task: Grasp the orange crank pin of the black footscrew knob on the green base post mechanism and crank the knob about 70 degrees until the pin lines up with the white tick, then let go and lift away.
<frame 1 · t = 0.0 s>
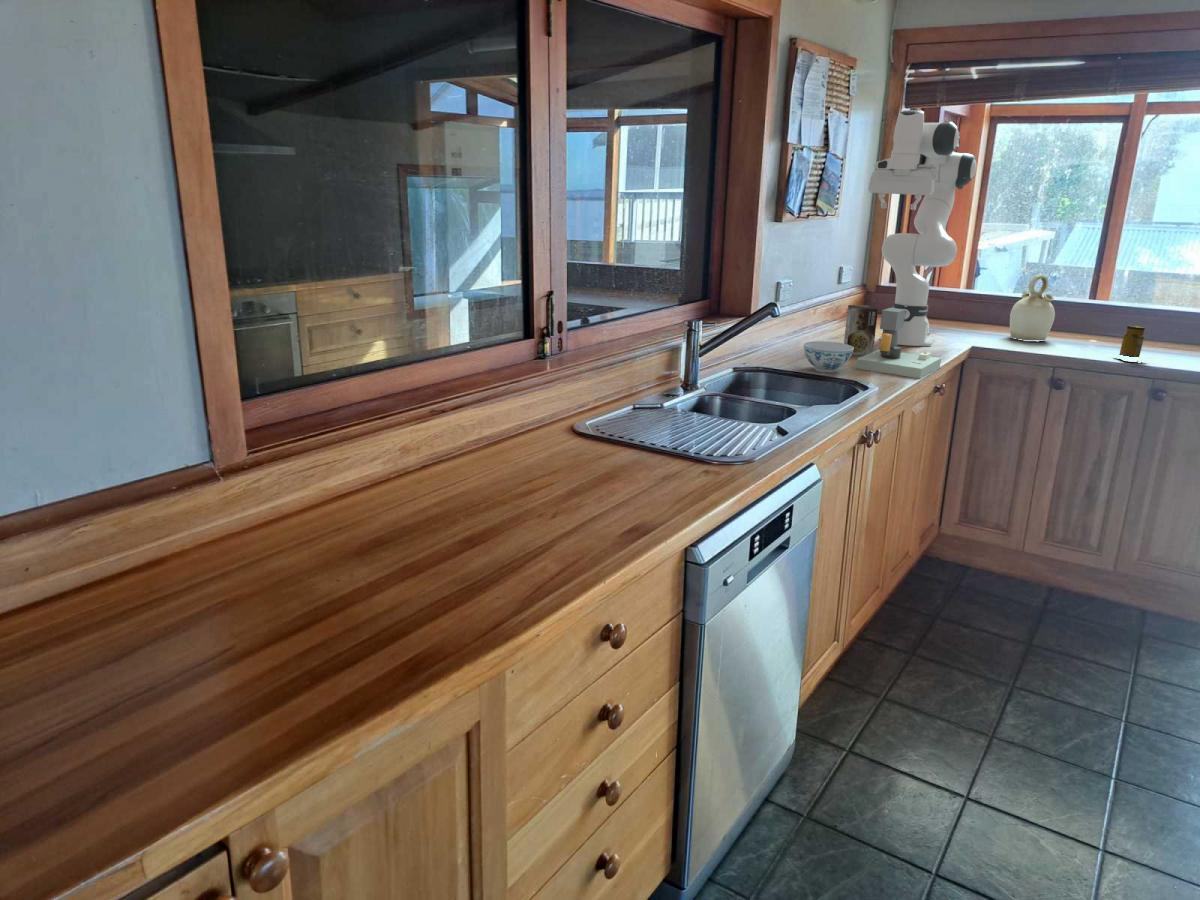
hand: (898, 209, 276), 48 cm above the worktop, fingers open, 8 cm apart
jug: (1027, 340, 332), on the worktop
footscrew knob: (889, 345, 269), point 7 cm above the worktop, hinge at 0.0°
chinaware: (825, 371, 264), on the worktop
green base post mechanism: (898, 367, 272), on the worktop
condiment: (1129, 361, 297), on the worktop
coffee box: (857, 354, 292), on the worktop
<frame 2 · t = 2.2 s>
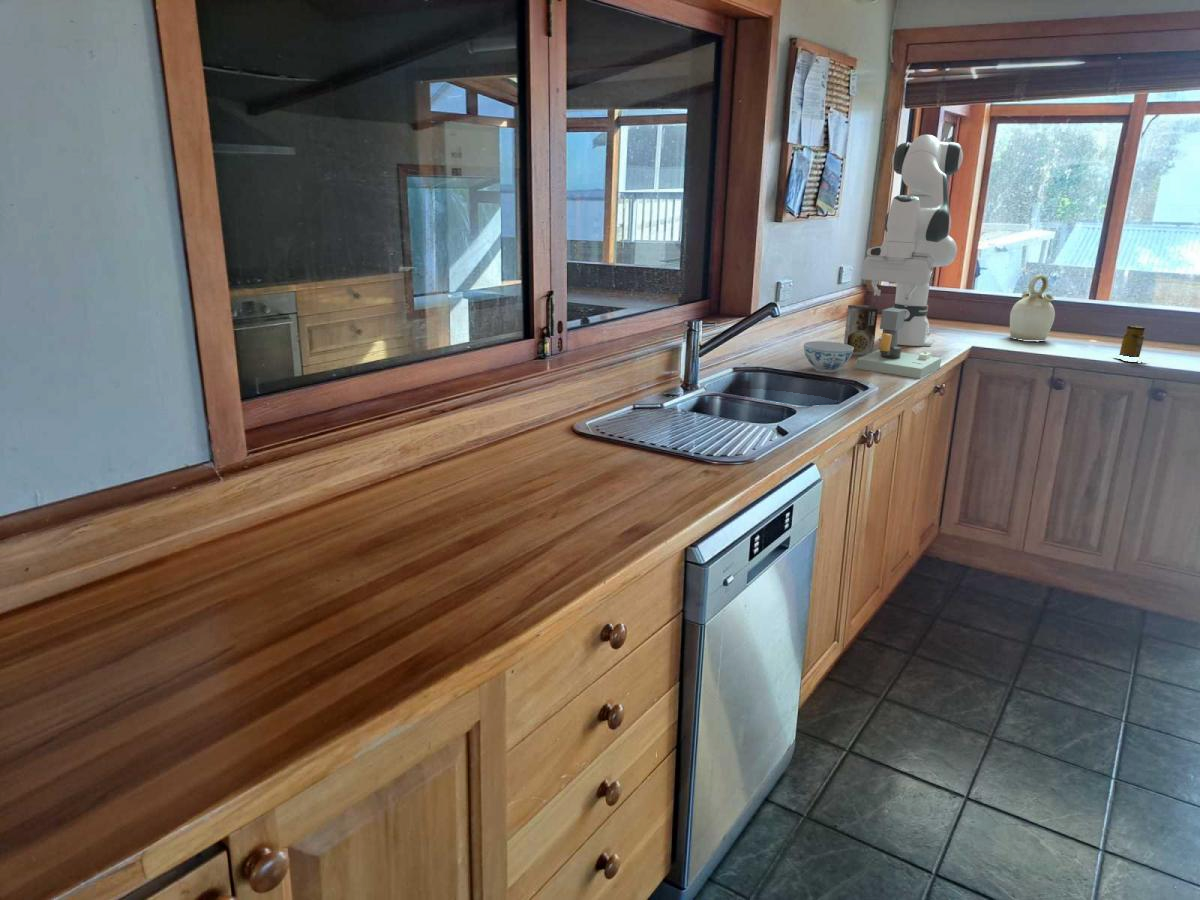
hand: (892, 297, 261), 23 cm above the worktop, fingers open, 8 cm apart
nothing on the worktop moved.
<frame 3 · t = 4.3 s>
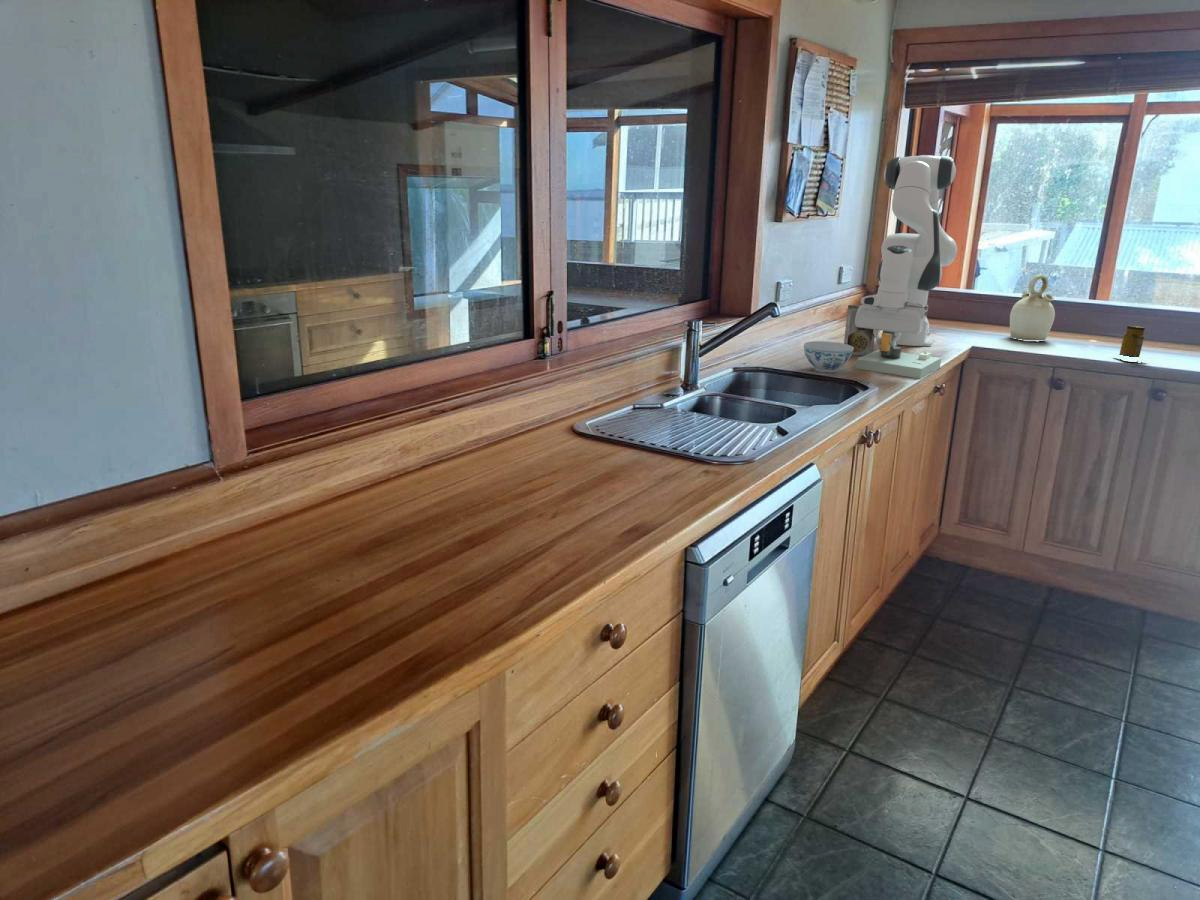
hand: (885, 345, 265), 8 cm above the worktop, fingers closed on footscrew knob, 3 cm apart
footscrew knob: (889, 345, 269), point 7 cm above the worktop, hinge at 0.0°, touching gripper
everything else where it was.
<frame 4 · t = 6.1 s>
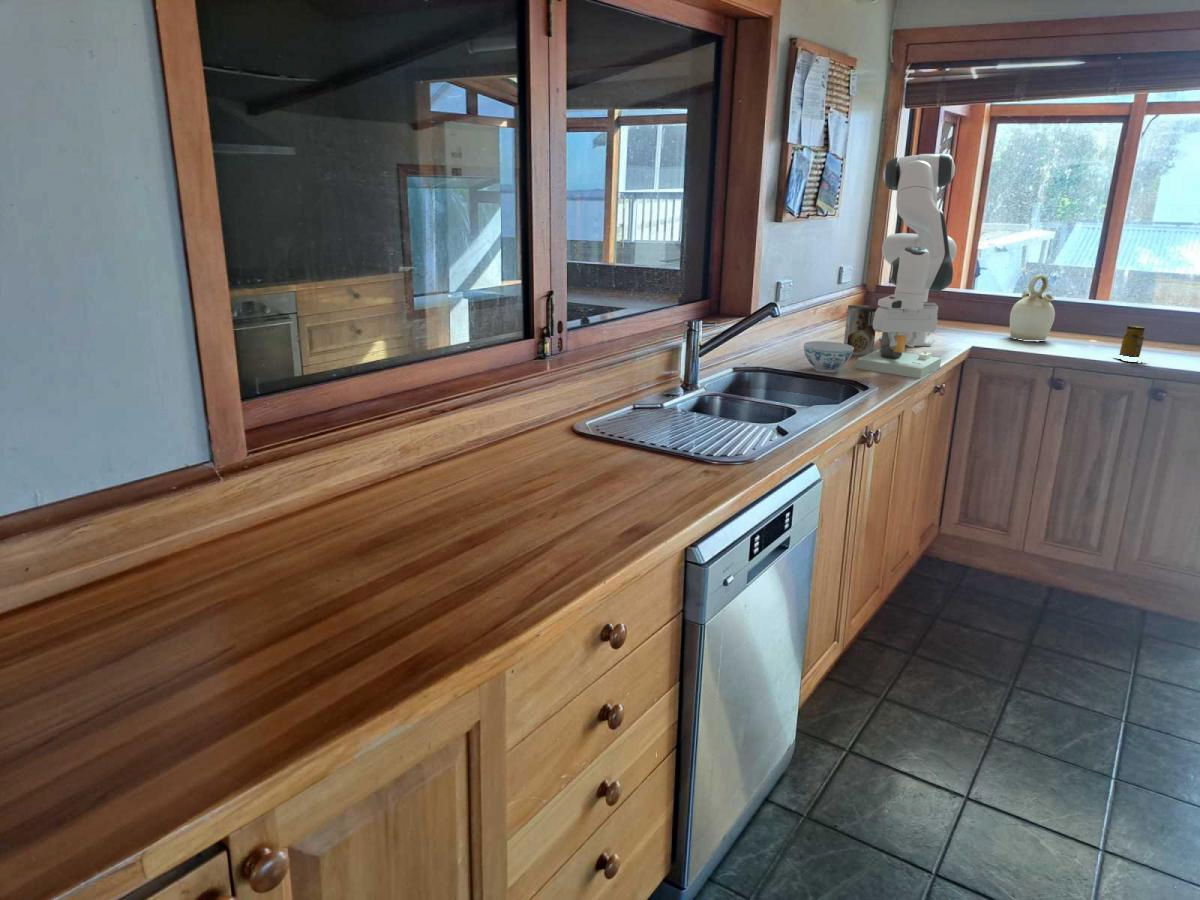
hand: (901, 346, 265), 8 cm above the worktop, fingers open, 5 cm apart
footscrew knob: (894, 345, 268), point 7 cm above the worktop, hinge at 35.3°, touching gripper
everything else where it was.
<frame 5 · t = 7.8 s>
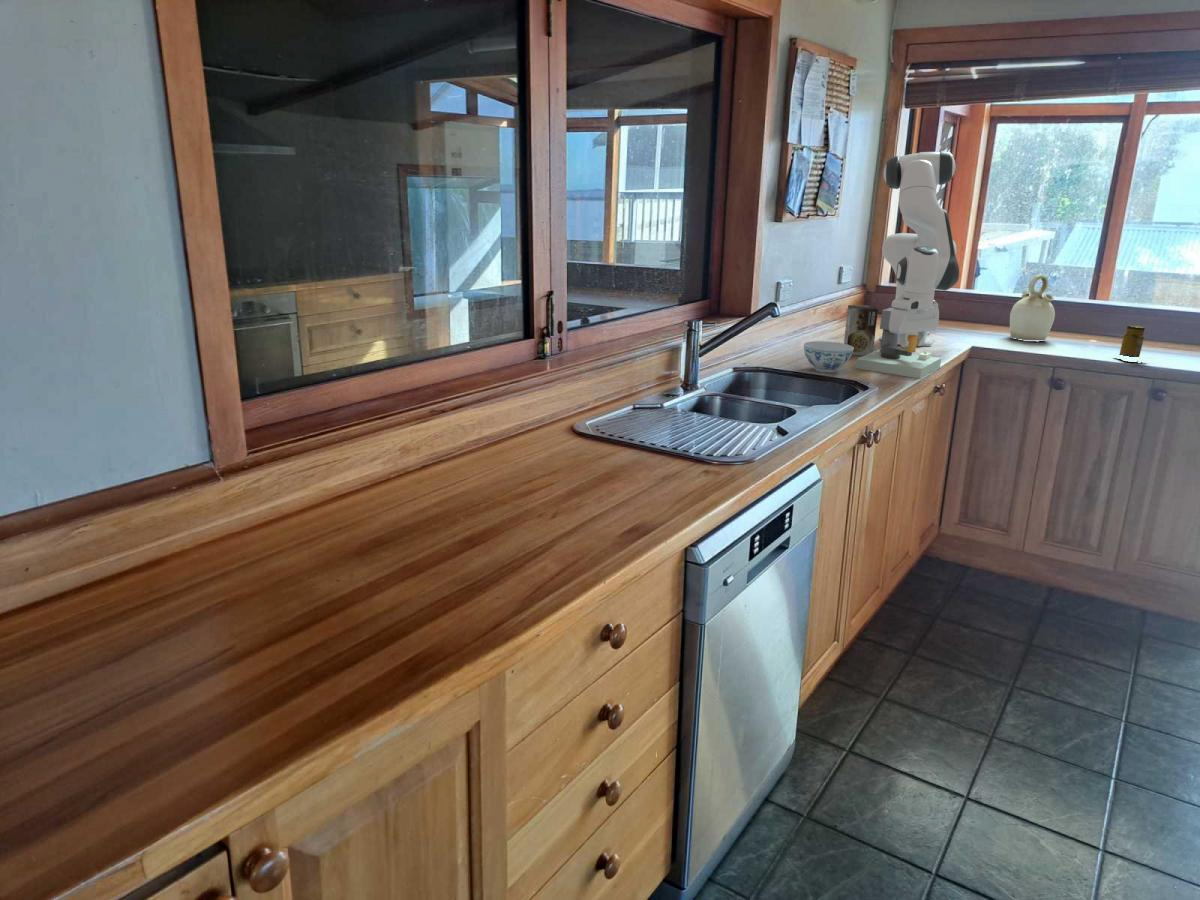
hand: (911, 346, 265), 8 cm above the worktop, fingers open, 5 cm apart
footscrew knob: (899, 345, 269), point 7 cm above the worktop, hinge at 69.6°
everything else where it was.
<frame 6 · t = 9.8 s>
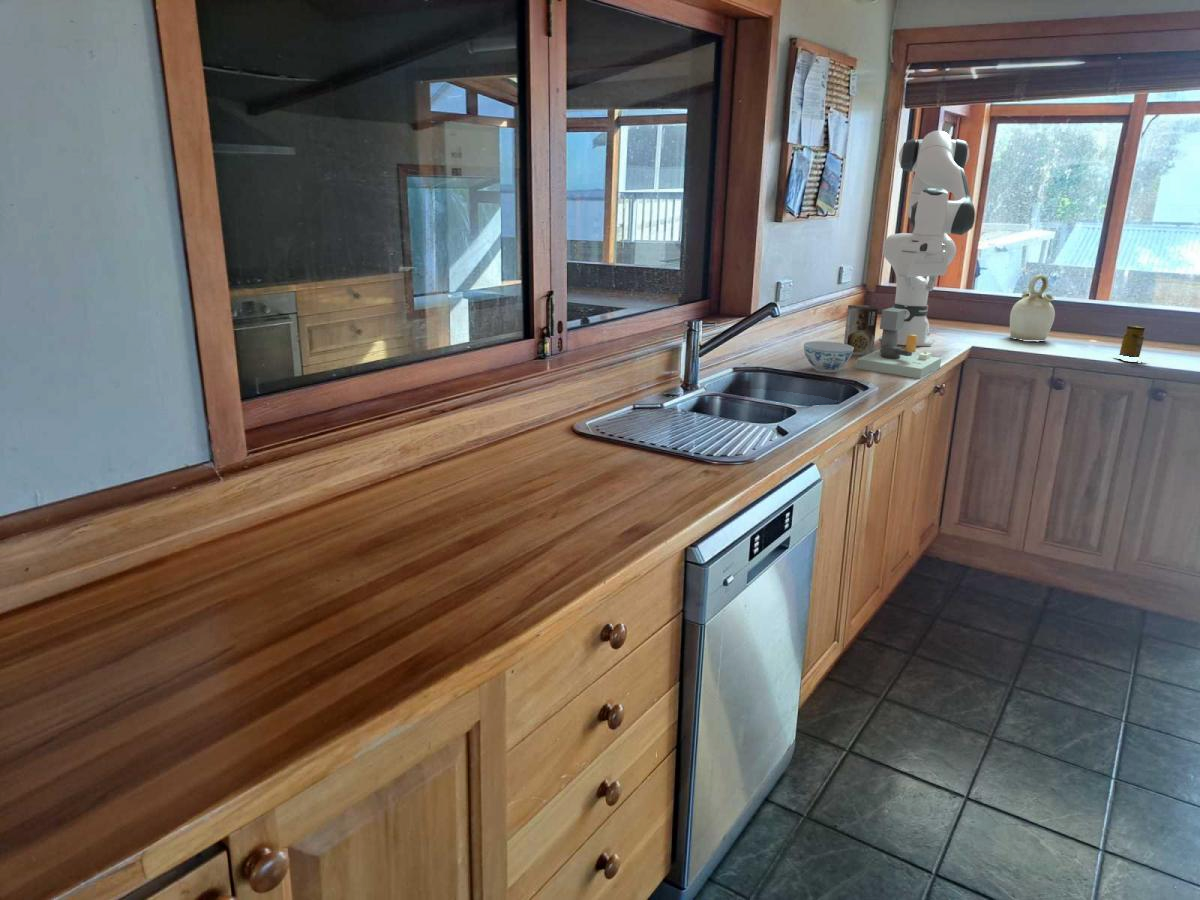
hand: (919, 291, 260), 25 cm above the worktop, fingers open, 8 cm apart
nothing on the worktop moved.
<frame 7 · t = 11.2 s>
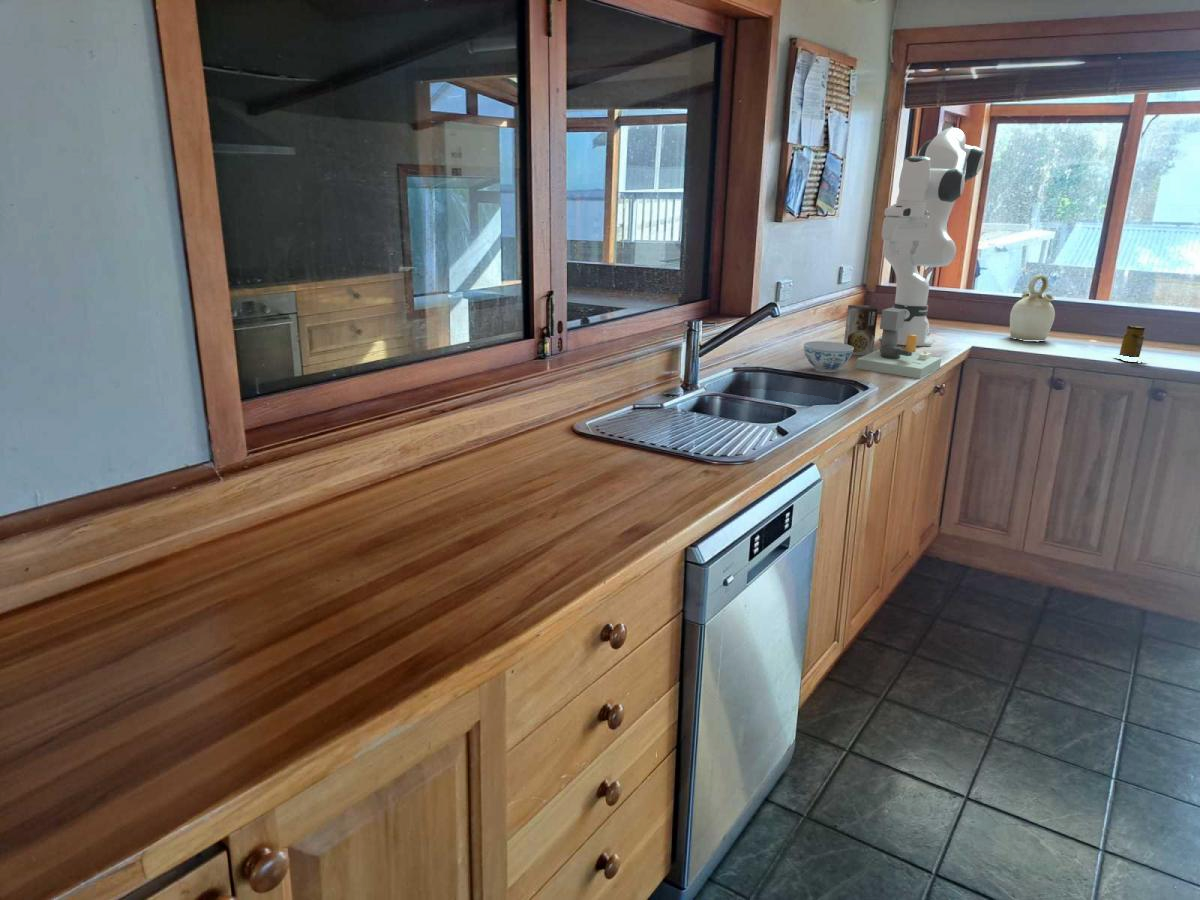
hand: (903, 255, 271), 34 cm above the worktop, fingers open, 8 cm apart
nothing on the worktop moved.
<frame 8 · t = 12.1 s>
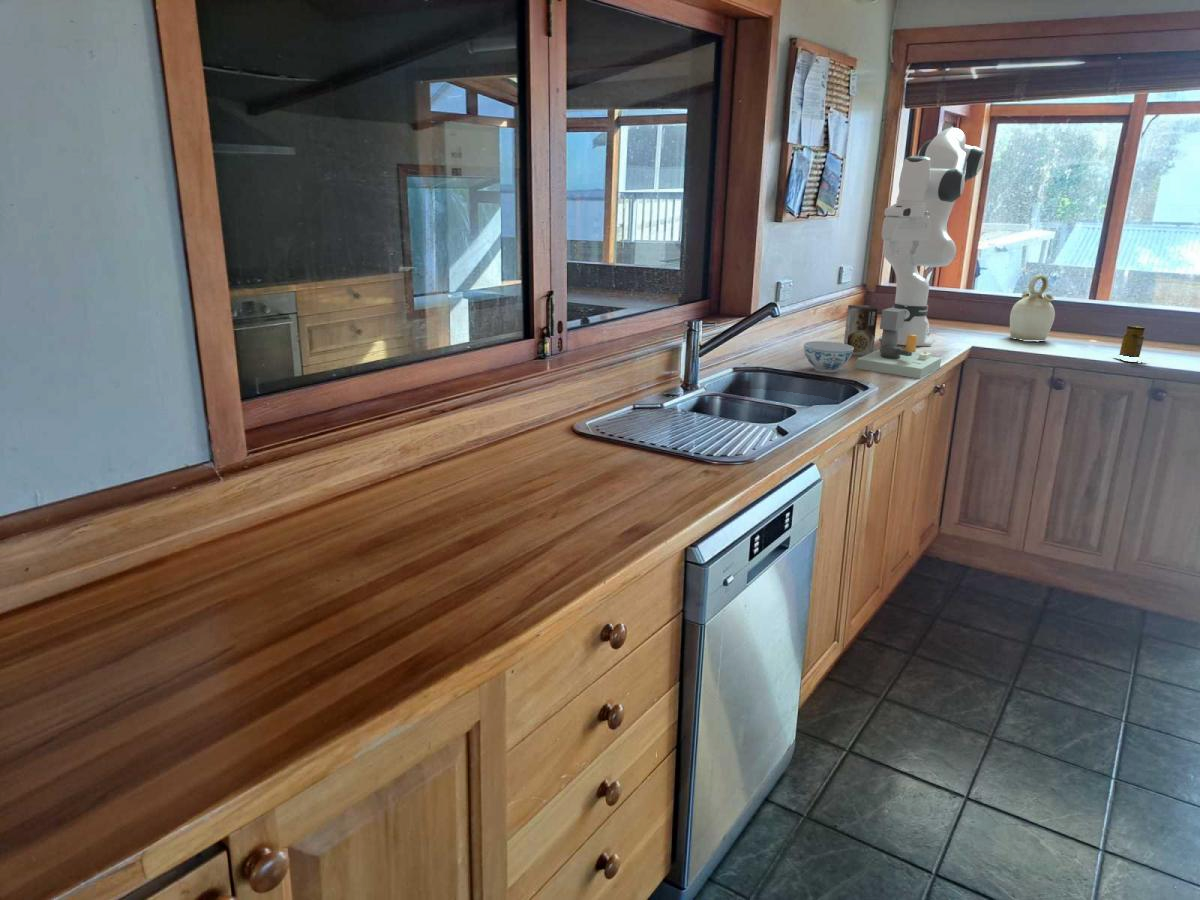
hand: (903, 255, 271), 34 cm above the worktop, fingers open, 8 cm apart
nothing on the worktop moved.
at the end: footscrew knob at +70° (first picture: +0°); the gripper is holding nothing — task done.
